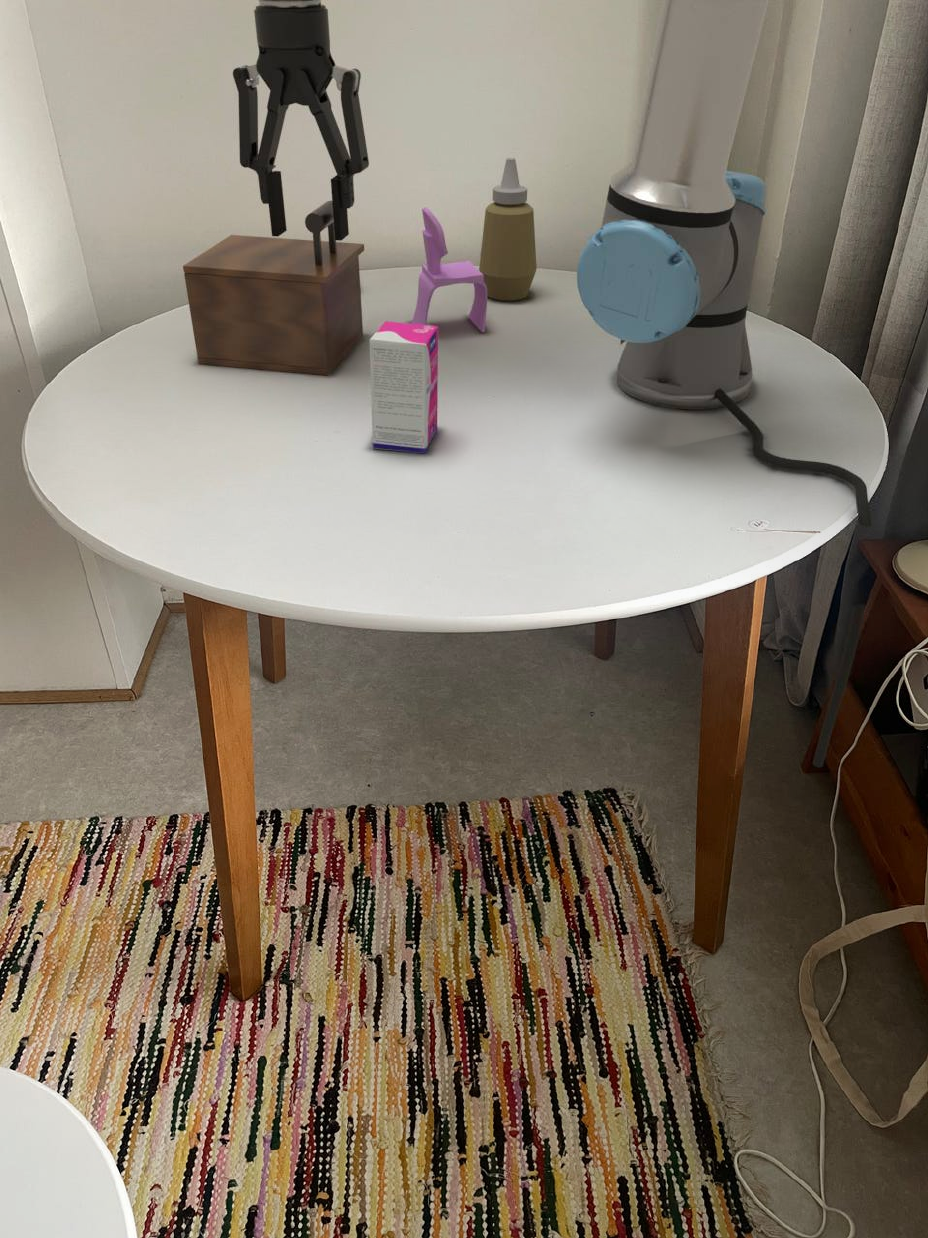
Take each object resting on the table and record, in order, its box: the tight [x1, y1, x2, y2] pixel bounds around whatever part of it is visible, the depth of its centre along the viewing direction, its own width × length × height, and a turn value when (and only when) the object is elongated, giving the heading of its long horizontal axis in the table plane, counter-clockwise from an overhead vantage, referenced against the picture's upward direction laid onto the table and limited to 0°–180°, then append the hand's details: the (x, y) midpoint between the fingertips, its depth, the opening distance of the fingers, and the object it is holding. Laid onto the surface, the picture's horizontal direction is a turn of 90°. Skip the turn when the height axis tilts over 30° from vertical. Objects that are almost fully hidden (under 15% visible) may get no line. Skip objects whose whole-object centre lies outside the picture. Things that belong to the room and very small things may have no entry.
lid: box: [182, 200, 365, 284], centre depth 116 cm, size 17×14×6 cm
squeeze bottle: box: [478, 157, 538, 301], centre depth 137 cm, size 8×8×18 cm
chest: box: [183, 255, 364, 376], centre depth 121 cm, size 17×14×11 cm
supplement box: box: [369, 320, 439, 454], centre depth 100 cm, size 6×6×12 cm
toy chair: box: [410, 207, 488, 333], centre depth 127 cm, size 8×9×15 cm
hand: (310, 234), depth 116 cm, fingers open, 7 cm apart
